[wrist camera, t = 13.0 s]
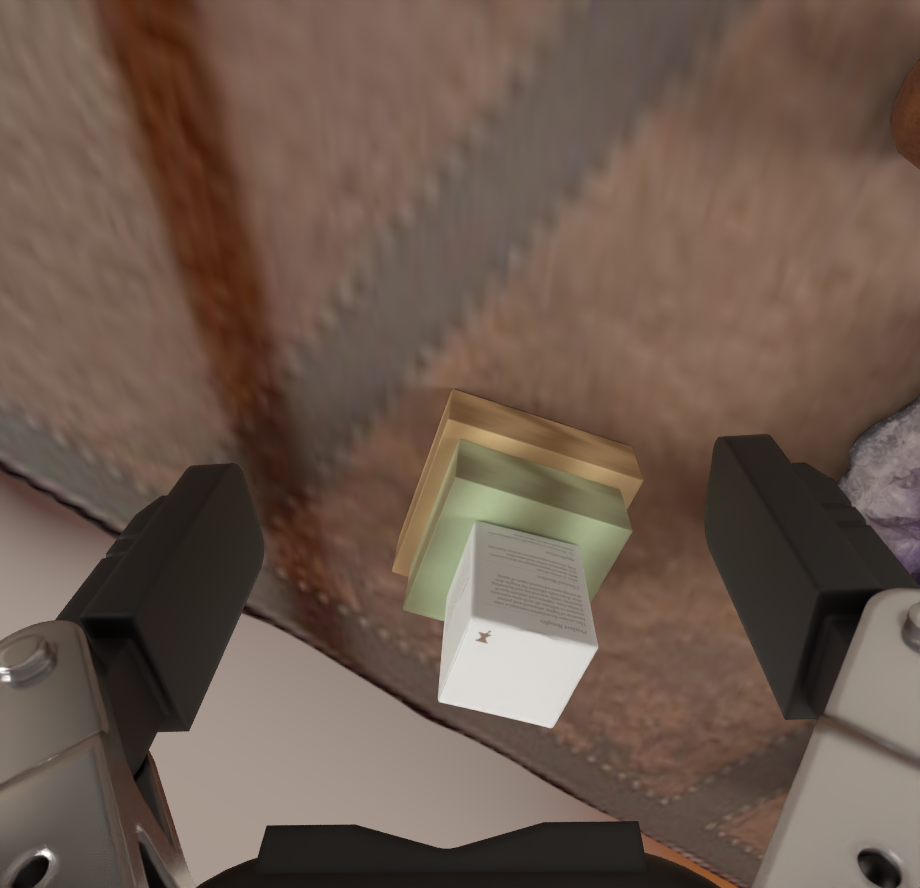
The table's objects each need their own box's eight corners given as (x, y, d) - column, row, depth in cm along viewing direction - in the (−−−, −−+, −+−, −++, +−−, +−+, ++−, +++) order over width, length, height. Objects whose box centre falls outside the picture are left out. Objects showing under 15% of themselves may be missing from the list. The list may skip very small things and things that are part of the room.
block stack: (399, 534, 45) (382, 617, 39) (452, 388, 40) (442, 455, 33) (558, 580, 47) (568, 669, 40) (632, 446, 41) (659, 522, 34)
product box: (444, 596, 37) (433, 703, 31) (475, 515, 34) (469, 616, 28) (544, 622, 38) (553, 732, 32) (583, 544, 35) (601, 649, 29)
